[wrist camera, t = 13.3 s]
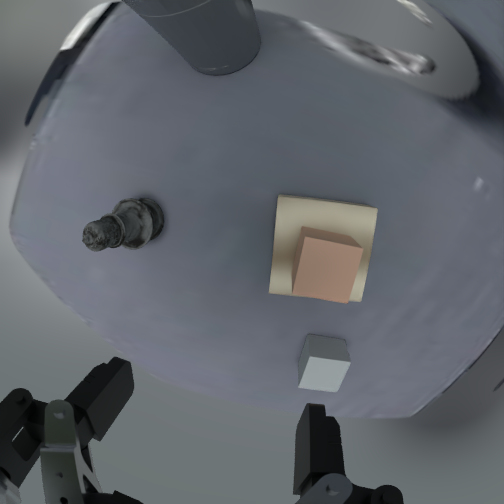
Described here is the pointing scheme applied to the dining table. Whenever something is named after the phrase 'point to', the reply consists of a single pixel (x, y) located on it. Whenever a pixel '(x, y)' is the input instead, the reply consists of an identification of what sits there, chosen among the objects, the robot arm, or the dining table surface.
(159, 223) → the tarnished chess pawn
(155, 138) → the dining table surface
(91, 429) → the robot arm
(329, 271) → the terracotta cube
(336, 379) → the grey cube
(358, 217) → the birch block
